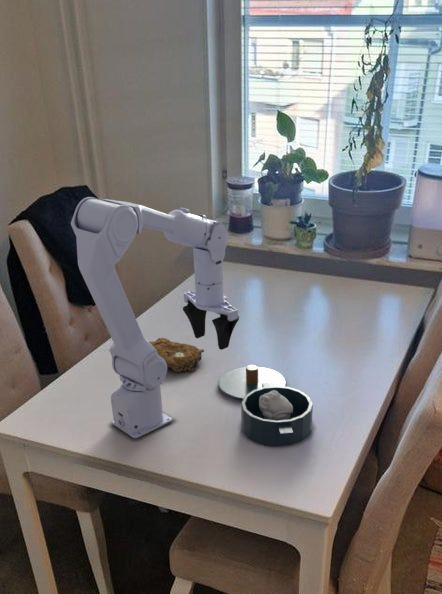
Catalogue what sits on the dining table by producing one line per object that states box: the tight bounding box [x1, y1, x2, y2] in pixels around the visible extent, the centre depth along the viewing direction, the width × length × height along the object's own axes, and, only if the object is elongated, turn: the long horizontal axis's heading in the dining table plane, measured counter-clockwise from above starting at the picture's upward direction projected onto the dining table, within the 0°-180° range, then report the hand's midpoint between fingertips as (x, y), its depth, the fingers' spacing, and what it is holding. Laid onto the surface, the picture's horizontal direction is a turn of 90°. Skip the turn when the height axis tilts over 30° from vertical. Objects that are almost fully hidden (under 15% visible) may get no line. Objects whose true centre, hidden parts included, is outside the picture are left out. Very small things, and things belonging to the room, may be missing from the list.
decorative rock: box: [148, 337, 205, 373], centre depth 156 cm, size 11×4×15 cm
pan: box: [240, 383, 314, 448], centre depth 130 cm, size 13×19×6 cm
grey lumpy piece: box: [259, 390, 293, 421], centre depth 130 cm, size 6×7×7 cm
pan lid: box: [218, 364, 287, 401], centre depth 144 cm, size 14×14×5 cm
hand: (211, 342), depth 142 cm, fingers open, 7 cm apart
